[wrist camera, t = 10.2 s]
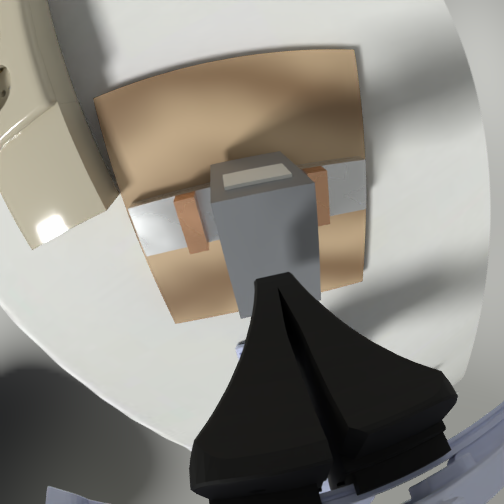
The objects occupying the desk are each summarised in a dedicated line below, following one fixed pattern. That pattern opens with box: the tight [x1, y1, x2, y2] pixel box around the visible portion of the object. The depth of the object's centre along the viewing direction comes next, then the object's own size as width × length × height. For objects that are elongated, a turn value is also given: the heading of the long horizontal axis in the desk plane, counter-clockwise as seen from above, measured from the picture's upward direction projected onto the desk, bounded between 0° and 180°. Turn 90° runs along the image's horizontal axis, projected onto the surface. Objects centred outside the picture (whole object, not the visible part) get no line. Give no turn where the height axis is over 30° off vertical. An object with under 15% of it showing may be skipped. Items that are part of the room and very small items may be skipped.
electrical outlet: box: [0, 0, 119, 250], centre depth 12 cm, size 7×4×18 cm
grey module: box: [210, 151, 321, 318], centre depth 15 cm, size 6×4×6 cm, turn 10°
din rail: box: [128, 156, 366, 257], centre depth 17 cm, size 4×15×2 cm, turn 100°
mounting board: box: [93, 49, 366, 324], centre depth 18 cm, size 18×16×1 cm
